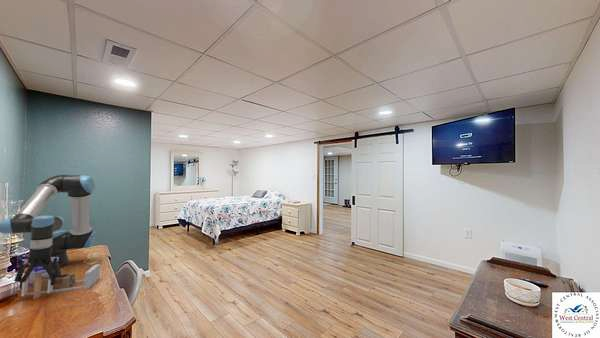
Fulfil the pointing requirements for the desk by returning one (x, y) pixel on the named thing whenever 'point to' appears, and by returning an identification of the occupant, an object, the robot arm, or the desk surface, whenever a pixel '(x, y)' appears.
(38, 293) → the dowel
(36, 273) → the bottle
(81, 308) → the desk surface
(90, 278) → the rail
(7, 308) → the desk surface
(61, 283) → the block
